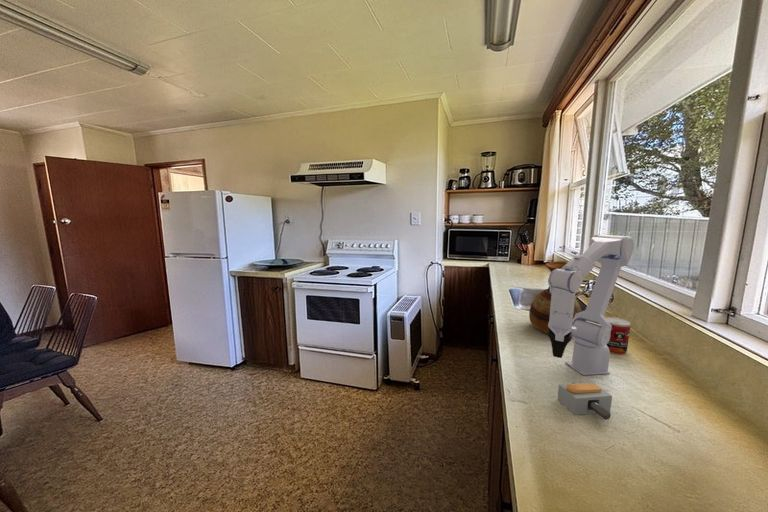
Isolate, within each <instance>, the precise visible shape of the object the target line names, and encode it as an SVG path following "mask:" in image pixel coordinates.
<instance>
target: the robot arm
mask: <svg viewBox="0 0 768 512" xmlns="http://www.w3.org/2000/svg"><path fill="white" fill-rule="evenodd" d="M634 243H635V242H634V239H633V238H632V236H629V235H626V236H625V235H613V234H611V235H609V234H600V233H596V234H594V235H593V236H592V237H591V239H590V242H589V247H588V248H586V250H585V251H584V252H583V254H582V255H575V256H574V257H573V258H571V259H570V260H569V261H568V262H567V264H566V265H565V266H563V267H562V268H561V269H556V270H553V271H552V272H551V271H550V274H549V276H548V278H547V283H548V287H549V286H550V293H551V294H552V296H551V307H550V319H549V323H548V327H549V332H548V333H547V335H548V339H549V340H550V344H551V351H552V352H551V353H552V356H553V357H554V358H559V359H562V358H563V355H564V352H565V350H566V347H567V345H568V344H569V343H570V342H571V340H573V348H572V349H573V350H572V358H571V360H565V364H567V365H568V366H569V367H571V368H572V369H574V370H575V371H577V372H578V373H579V374H581V375H583V376H590V375H604V374H611V371H610V370H609V366H610V357H611V352H610V351H609V348H608V346H607V343H608V342H609V340H610V332H611V328H612V326H611V324H610V322H609V321H608V320H607V319H606V318H607V317H606V316H605V314H606V311H607V308H608V305H609V303H610V301H611V297H612V294H613V291H614V288H615V286H616V283H617V281H618V277H619V274H620V271H621V269H622V267H624V266H628V265H629V263H630V261H631V258H632V254H633V253H634V252H633V251H634V250H635V249H634ZM595 262H598V263H599V264H600V269H599V272H598V275H597V277H596V281H595V283H594V286H593V288H592V292H591V294H590V297H589V299H588V302H587V305H586V308H585V310H581V311H582V312H579V313H576V314H575V316H574V318H573V312H574V302H575V298H576V292H578V291H579V290H580V288H581V286H582V283H583V281H584V278H585V277H586V276H588V275H589V274H590V272H592V270H593V269H594V263H595Z"/></svg>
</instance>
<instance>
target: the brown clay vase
mask: <svg viewBox="0 0 768 512" xmlns="http://www.w3.org/2000/svg"><path fill="white" fill-rule="evenodd" d="M567 263H568V262H567V261H563V260H562V261H558V260H557V261H548V262H547V263H545V267H546V268H547V269H548V270H549V272H550V273H551V272H552V271H553V270H556V269H561V268H562V267H563V266H565V265H566V264H567ZM551 296H552V294H551V293H550V286H549V285H548V288H545V289H544V290H542V291H540V292H539V293H538V294H537V295H536V296H535V298H534V299H533V300H532V302H531V304H530V308H529V312H528V313H529V314H528V315H529V316H528V317H529V322H530V323H531V325H533V326H534V327H535V328H536V329H537V330H540V331H542V332H543V333H546V334H548V332H549V327H548V323H549V319H550V307H551ZM582 311H583V310H582V308H581V305H580V303H579V302H578V300H577V298H576V297H575V302H574V312H573V318H574V316H575V314H576V313H579V312H582Z"/></svg>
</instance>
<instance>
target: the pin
mask: <svg viewBox="0 0 768 512" xmlns="http://www.w3.org/2000/svg"><path fill="white" fill-rule="evenodd" d="M588 406H589V407H590V408H591V409H592V410H594V411H595V412H596V413H595V414H598V416H600V417H601V418H602V419H603V420H604V421H605V420H606V421H607V420H609V419H611V415H612V414H611V412H608V411H607V410H605V409H604V408H603V407H601V406H600V405H599V404H598V403H596V402H595V401H594V400H588Z"/></svg>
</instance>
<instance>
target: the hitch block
mask: <svg viewBox="0 0 768 512" xmlns="http://www.w3.org/2000/svg"><path fill="white" fill-rule="evenodd" d="M588 383H594V384H595V385H597V386H598V387H599V388H601V389H602V390H601V392H589V393H573V392H570V391H568V390H567V385H568V384H569V383H559V384H558V390H557V399H556V400H557V401H558V402H559V403H560V404H561V405H562V406H563V407H564V406H565V407H564V408H565V409H567V410H568V411H569V412H570V413H571V415H573V416H579V415H580V416H581V415H591V414H592V415H593V414H597V413H596V412H595V411H594V410H592V409H591V408H590V407H589V406H588V400H594V401H595V402H596V403H598V404H599V405H600V406H601V407H603V408H604V409H605V410H607V411H608V412H609V413H611V410H612V409H611V408H612V401H613V395H612V394H610V393H609V392H608V391H607V390H605V389H604V388H602V387H601V386H599V385H598V384H597V383H595V381H587V382H571V383H570V384H588Z"/></svg>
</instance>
